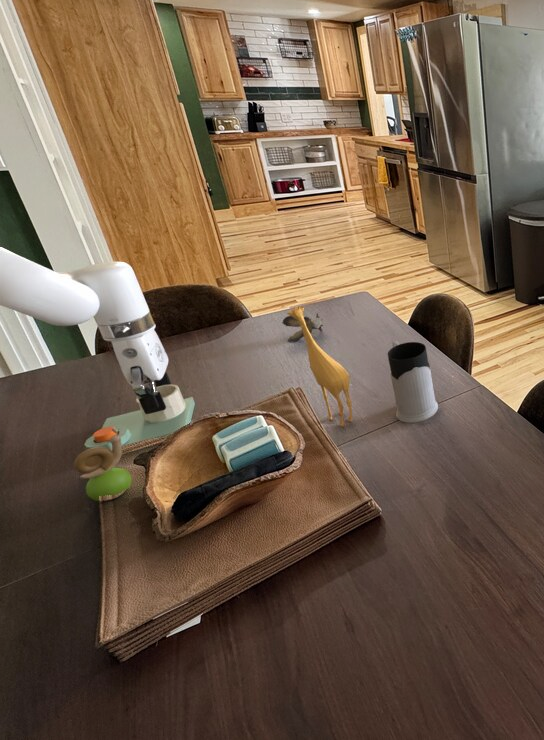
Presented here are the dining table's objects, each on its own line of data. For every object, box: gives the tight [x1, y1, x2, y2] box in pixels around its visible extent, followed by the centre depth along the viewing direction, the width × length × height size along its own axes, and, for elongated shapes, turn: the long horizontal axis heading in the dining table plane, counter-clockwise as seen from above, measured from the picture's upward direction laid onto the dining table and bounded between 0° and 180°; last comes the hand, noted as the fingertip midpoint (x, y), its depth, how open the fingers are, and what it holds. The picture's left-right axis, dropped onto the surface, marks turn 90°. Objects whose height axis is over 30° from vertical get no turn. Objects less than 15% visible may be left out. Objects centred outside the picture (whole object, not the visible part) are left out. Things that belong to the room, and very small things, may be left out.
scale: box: [83, 396, 196, 450], centre depth 96 cm, size 14×14×4 cm
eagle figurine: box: [281, 312, 324, 343], centre depth 134 cm, size 8×7×9 cm
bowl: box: [135, 383, 186, 423], centre depth 99 cm, size 7×7×5 cm
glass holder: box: [387, 340, 439, 424], centre depth 103 cm, size 9×14×15 cm, turn 39°
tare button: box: [92, 427, 116, 443], centre depth 90 cm, size 3×3×2 cm
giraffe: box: [286, 305, 354, 427], centre depth 97 cm, size 16×4×25 cm, turn 56°
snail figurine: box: [73, 428, 133, 502], centre depth 80 cm, size 5×6×12 cm
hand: (159, 400), depth 98 cm, fingers open, 7 cm apart
